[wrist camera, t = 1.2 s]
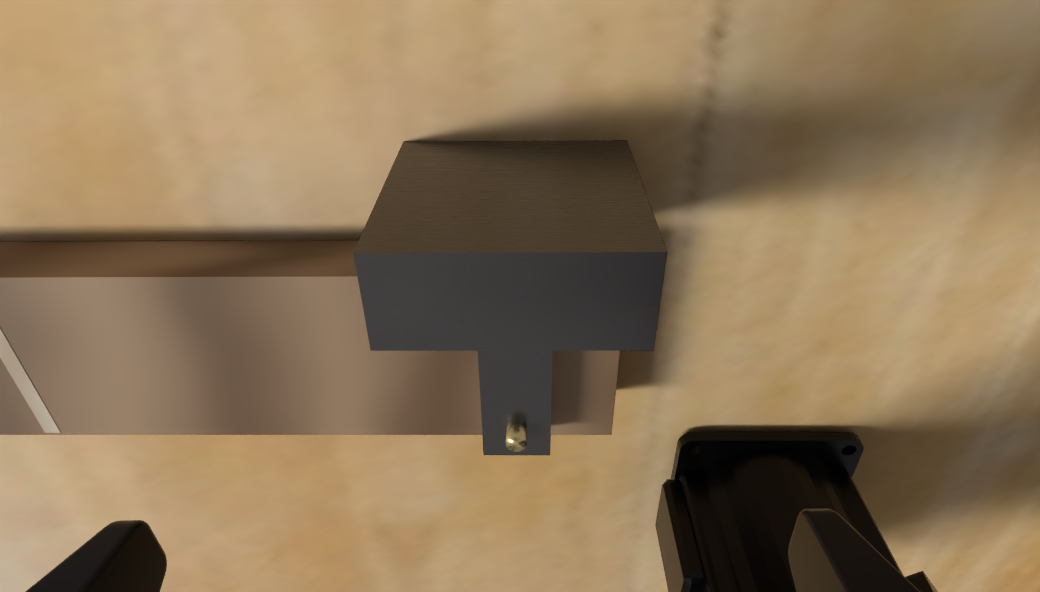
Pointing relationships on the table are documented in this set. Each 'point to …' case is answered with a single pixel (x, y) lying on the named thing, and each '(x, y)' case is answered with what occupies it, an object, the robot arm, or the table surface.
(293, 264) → the walnut board
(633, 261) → the marking gauge
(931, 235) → the table surface
